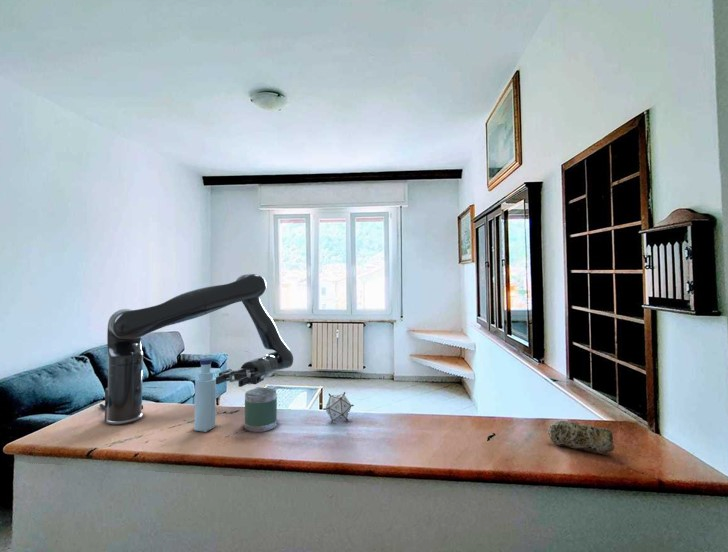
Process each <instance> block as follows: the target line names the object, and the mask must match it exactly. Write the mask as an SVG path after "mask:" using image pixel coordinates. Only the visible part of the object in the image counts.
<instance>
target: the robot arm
mask: <svg viewBox="0 0 728 552" xmlns="http://www.w3.org/2000/svg"><path fill="white" fill-rule="evenodd" d="M266 290H267V282H266V280H265V278H264V277H263V276H261V275H259V274H257V273H247V274H242V275H240V276H238V277H237V278H236V280H234V281H232V282H229V283H225V284H224V283H223V284H218V285H211V286H205V287H201V288H197V289H192V290H188V291H186V292H184V293H180V294H177V295H175V296H173V297H172V298H170V299H168V300H166V301H164V302H162V303H160V304H156V305H152V306H148V307H143V308H139V309H132V308H131V309H130V308H123V309H122V308H121V309H119V310H117V311H115V312H113V313H112V314H111V315H110V317H109V319H108V322H107V329H106V331H107V332H106V333H107V335H106V337H107V340H106V342H107V343H106V345H107V346H106V352H107V358H108V360H107V361H108V362H107V363H108V365H107V369H108V370H107V387H106V388H105V391H104V404H103V403H100V404H99V407H100V408H101V409H103V410H104V421H105V422H106V424H109V425H126V424H130V423H133V422H136V421H139V420H140V419H142V418H143V410H144V405H143V379H144V377H143V373H144V371H143V369H144V351H143V349H142V339H141V338H142V337H145V336H146V335H149V334H151V333H154V332H155V331H158V330H160V329H162V328H165V327H168V326H171V325H177V324H180V323H183V322H187V321H191V320H194V319H197V318H199V317H202V316H205V315H209V314H211V313H213V312H216V311H219V310H221V309H223V308H226V307H228V306H231V305H233V304H236V303H242V304H243V306H244V308H245V309H246V311H247V313H248V315H249V317H250V318H251V321H252V322H253V324H254V326H255V329H256V332H257V334H258V336H259V338H260V341H261V343H262V346H263V348H264V349H266V350H271V351H273V352H269V353H267V354H266V355H263V356H261V357H257V358H254V359H252V360H248V361H246V362H244V363H243V364H241V366H240V368H237V369H232V368H228V369H226V370H223V371H220V372H218V375H217V376H216V377H215V378H216V385H220V384H222V383H225V382H230V383H234V382H235V383H236V382H238V384H237V385H238V388H242V387H244V386H246V385H258V384H260V383H261V382H263V381H264V380H265V379H266V378H268V377H269V376H271V375H273V374H275V372H276V371H280V370H284V369H285V370H286V369H289V368H291V367H292V366H293V363H294V356H293V353H292V350H291V349H290V348H289V347H288V346H287V344H286V343H285V342H284V340H283V339H282V337H281V335H280V333H279V331H278V328H277V326H276V323H275V322H274V320H273V318H272V317H271V316H270V315H269V313H268V312H267V310H266V309H265V307H264V306H263V304H262V302H261V299H260V297H261V296H262V295H264V293H265V291H266Z"/></svg>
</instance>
